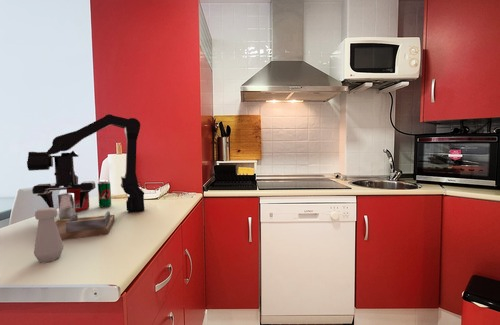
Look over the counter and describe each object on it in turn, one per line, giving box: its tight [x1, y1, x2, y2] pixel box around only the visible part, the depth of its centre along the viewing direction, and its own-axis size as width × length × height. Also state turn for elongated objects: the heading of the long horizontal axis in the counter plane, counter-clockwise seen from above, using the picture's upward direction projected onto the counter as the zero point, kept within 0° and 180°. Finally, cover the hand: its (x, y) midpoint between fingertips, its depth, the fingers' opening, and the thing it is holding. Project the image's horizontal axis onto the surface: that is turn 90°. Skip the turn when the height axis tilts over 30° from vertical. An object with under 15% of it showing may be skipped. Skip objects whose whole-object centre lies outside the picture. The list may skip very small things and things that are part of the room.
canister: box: [57, 192, 76, 220], centre depth 96 cm, size 5×5×10 cm
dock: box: [55, 210, 116, 241], centre depth 84 cm, size 18×16×5 cm
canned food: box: [66, 189, 90, 213], centre depth 110 cm, size 8×8×11 cm
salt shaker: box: [33, 207, 64, 263], centre depth 63 cm, size 6×6×13 cm
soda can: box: [97, 179, 112, 208], centre depth 116 cm, size 5×5×12 cm
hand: (67, 209), depth 96 cm, fingers open, 9 cm apart
